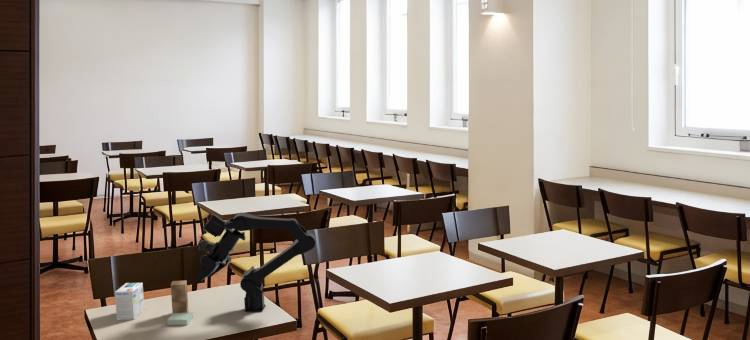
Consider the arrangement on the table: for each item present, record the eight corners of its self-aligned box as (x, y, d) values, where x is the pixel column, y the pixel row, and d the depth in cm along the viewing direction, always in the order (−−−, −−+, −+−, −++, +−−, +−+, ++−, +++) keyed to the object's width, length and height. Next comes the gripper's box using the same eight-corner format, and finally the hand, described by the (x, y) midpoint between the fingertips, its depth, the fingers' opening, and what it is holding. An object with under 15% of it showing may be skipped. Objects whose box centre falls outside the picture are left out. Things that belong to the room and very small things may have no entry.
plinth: (193, 318, 249) (193, 312, 248) (186, 325, 242) (186, 319, 241) (174, 318, 249) (173, 312, 249) (167, 325, 242) (167, 319, 242)
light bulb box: (127, 310, 259) (125, 282, 258) (145, 309, 259) (143, 282, 257) (116, 320, 248) (113, 291, 247) (134, 320, 248) (132, 291, 247)
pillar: (188, 311, 256) (186, 280, 254) (186, 316, 251) (184, 284, 249) (174, 312, 255) (172, 281, 253) (172, 317, 250) (170, 285, 248)
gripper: (217, 229, 262) (195, 263, 263) (200, 233, 244) (176, 269, 244) (241, 246, 261) (218, 280, 262) (225, 250, 243) (201, 287, 243)
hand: (203, 279), depth 253 cm, fingers open, 9 cm apart
